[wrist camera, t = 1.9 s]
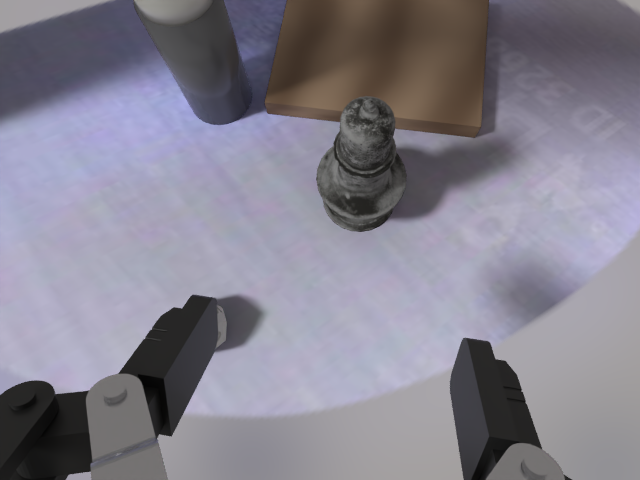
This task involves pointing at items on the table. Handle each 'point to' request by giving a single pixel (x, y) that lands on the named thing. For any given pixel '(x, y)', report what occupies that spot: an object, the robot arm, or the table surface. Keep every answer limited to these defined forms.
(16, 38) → the table surface
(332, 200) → the grey chess piece
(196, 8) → the grey cylinder
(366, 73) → the walnut board
